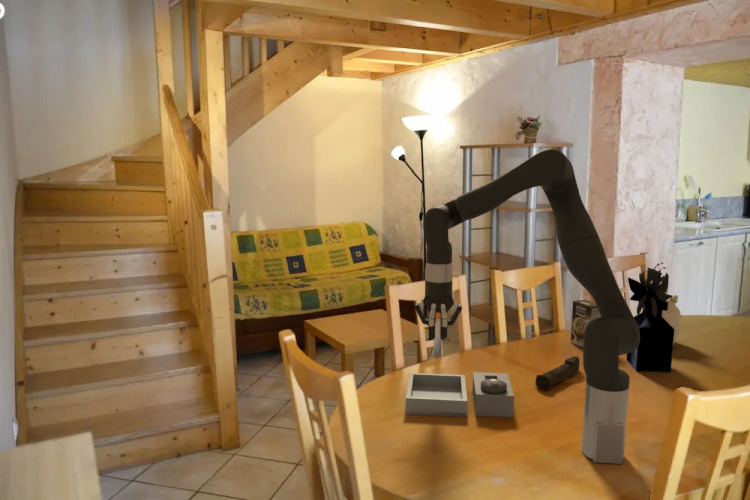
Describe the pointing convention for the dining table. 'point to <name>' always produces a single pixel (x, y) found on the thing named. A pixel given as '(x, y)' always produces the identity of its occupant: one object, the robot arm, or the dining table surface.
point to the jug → (672, 315)
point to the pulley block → (492, 394)
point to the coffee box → (582, 319)
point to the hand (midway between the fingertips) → (437, 338)
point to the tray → (436, 395)
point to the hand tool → (558, 374)
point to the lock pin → (437, 335)
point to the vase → (652, 323)
